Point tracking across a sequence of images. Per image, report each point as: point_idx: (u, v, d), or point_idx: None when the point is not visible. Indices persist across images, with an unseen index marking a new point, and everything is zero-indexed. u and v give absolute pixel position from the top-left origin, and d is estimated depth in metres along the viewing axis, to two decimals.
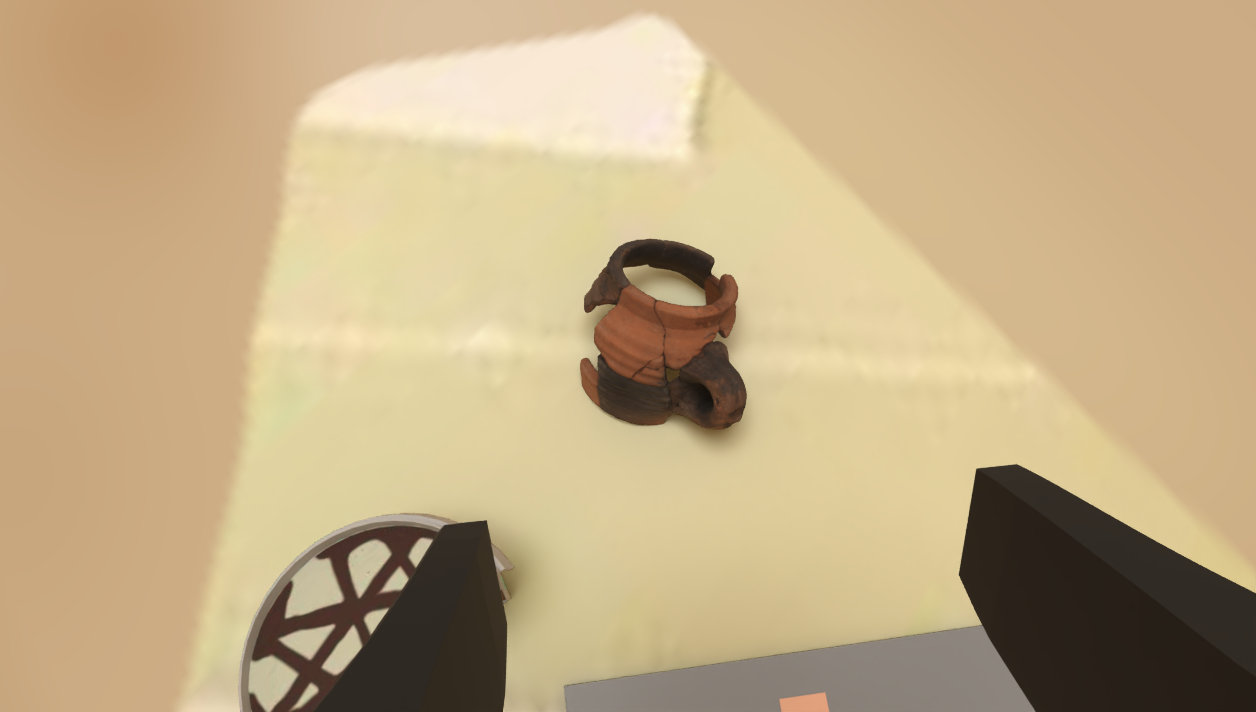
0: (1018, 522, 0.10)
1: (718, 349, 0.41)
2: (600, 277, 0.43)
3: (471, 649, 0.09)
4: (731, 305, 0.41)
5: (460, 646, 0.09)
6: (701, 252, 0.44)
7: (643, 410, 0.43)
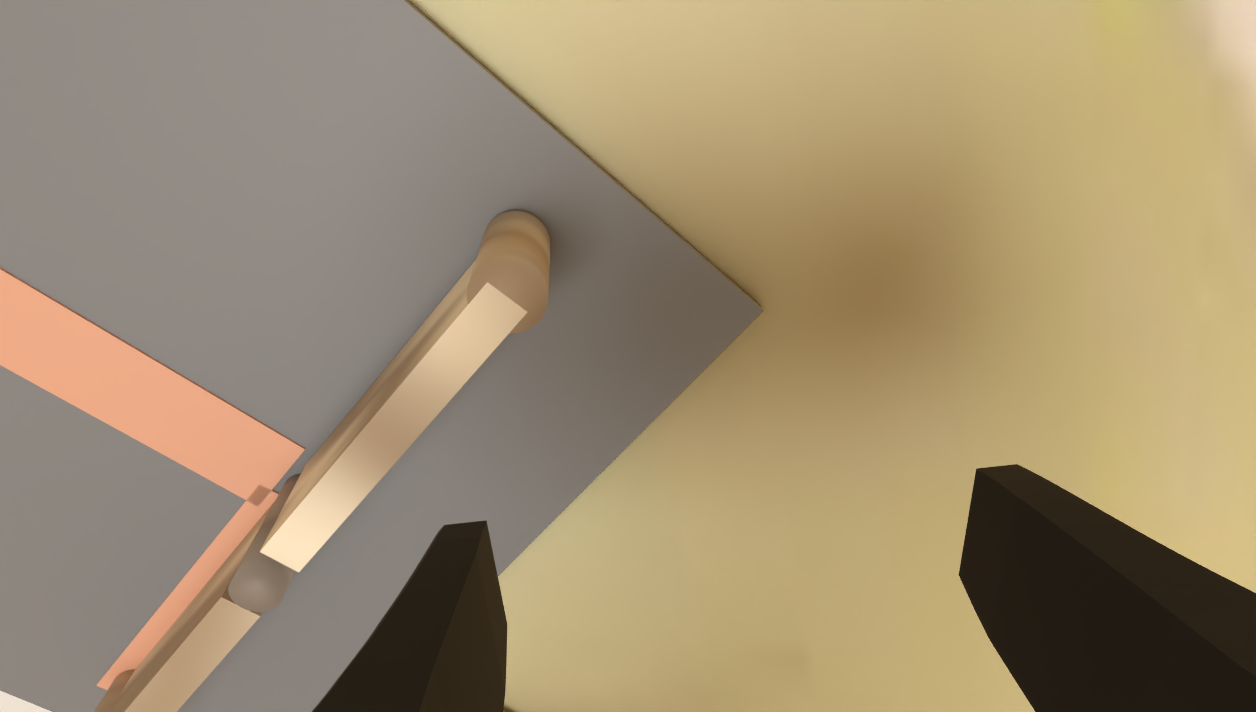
0: (1018, 522, 0.10)
1: None
2: None
3: (471, 649, 0.09)
4: None
5: (460, 646, 0.09)
6: None
7: None
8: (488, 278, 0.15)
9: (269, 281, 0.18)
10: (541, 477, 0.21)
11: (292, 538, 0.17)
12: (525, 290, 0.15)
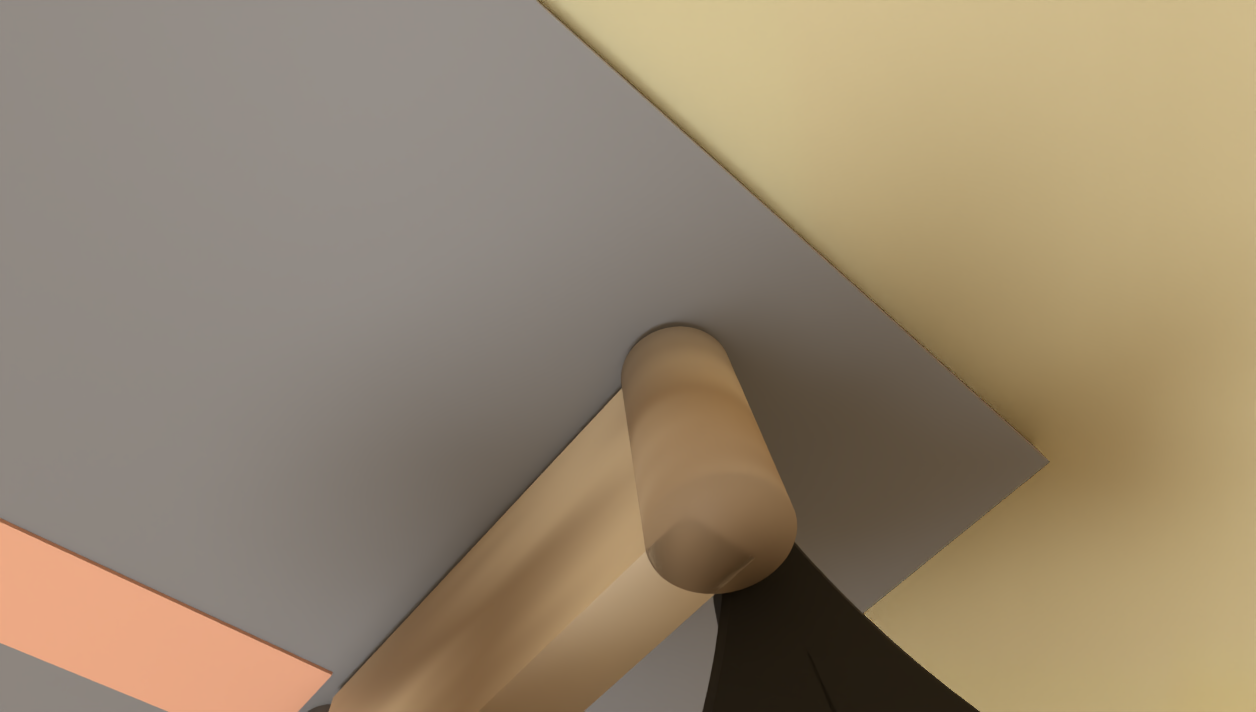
0: None
1: None
2: None
3: None
4: None
5: None
6: None
7: None
8: (688, 506, 0.08)
9: (272, 444, 0.11)
10: (684, 695, 0.14)
11: None
12: (755, 523, 0.08)
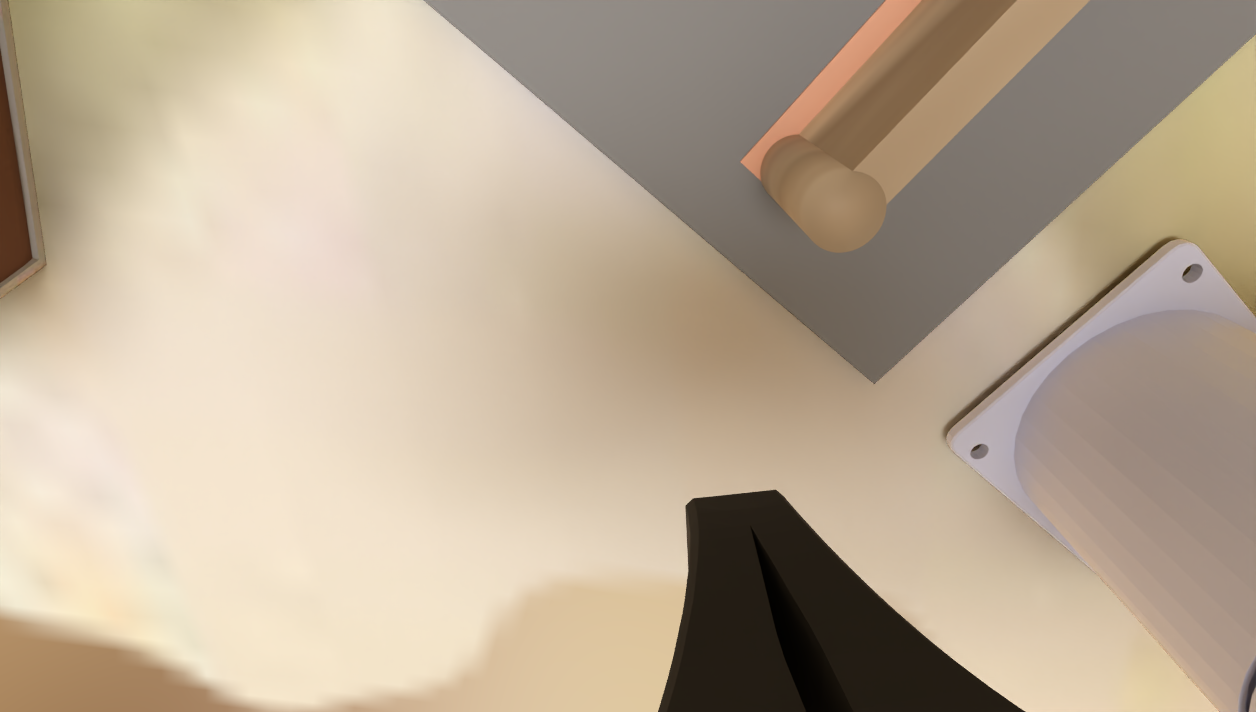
0: None
1: None
2: None
3: None
4: None
5: None
6: None
7: None
8: None
9: None
10: None
11: None
12: None
